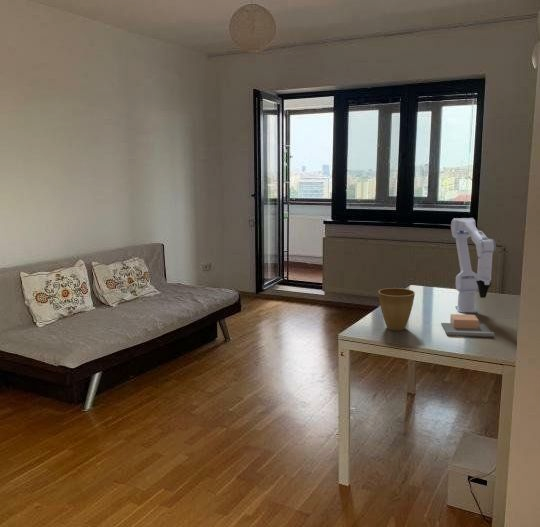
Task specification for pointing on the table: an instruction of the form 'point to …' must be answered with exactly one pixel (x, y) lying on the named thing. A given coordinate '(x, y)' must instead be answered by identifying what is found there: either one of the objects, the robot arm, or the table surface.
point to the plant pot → (396, 307)
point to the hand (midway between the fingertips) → (482, 297)
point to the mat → (467, 331)
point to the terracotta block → (464, 321)
